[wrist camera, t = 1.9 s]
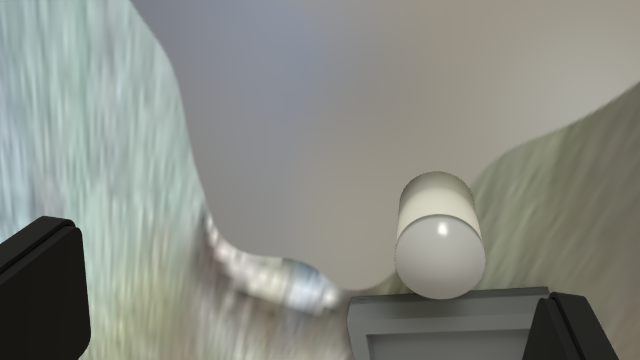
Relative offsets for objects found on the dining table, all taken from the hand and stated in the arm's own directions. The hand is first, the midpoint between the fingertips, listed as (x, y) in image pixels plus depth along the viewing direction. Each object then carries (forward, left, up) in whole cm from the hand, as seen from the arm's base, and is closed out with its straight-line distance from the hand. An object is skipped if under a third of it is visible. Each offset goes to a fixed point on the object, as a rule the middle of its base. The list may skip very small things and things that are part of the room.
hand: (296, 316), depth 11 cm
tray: (-2, +24, -26) cm, 35 cm away
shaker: (-2, +10, -26) cm, 28 cm away
